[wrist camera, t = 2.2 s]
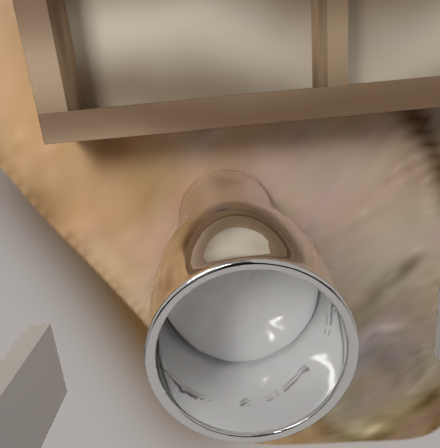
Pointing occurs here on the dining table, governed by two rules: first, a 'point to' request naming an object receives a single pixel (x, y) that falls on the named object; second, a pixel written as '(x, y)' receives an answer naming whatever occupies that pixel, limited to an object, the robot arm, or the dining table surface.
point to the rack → (223, 62)
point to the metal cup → (245, 319)
